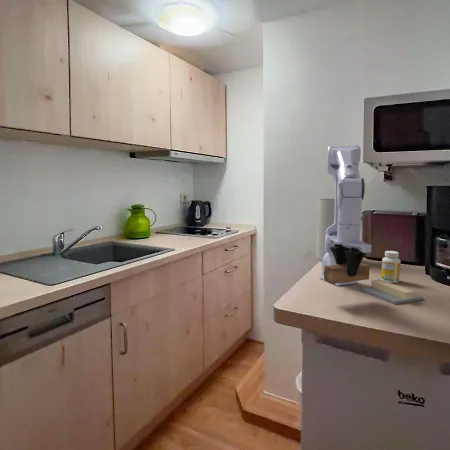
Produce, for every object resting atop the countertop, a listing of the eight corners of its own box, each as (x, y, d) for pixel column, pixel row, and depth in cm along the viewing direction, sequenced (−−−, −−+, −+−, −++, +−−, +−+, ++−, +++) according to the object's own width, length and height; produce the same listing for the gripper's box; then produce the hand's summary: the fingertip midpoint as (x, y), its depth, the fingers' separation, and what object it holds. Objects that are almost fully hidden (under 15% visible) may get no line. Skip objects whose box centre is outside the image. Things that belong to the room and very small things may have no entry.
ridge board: (361, 290, 99) (362, 281, 99) (387, 287, 103) (388, 278, 102) (394, 304, 88) (395, 294, 88) (422, 299, 91) (423, 289, 91)
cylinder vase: (309, 257, 143) (311, 199, 140) (332, 255, 148) (334, 198, 145) (330, 264, 132) (332, 200, 129) (354, 261, 137) (357, 199, 134)
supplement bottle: (386, 283, 106) (388, 253, 105) (377, 278, 112) (379, 250, 111) (402, 283, 107) (404, 253, 106) (392, 278, 112) (394, 250, 111)
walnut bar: (323, 280, 90) (324, 265, 90) (359, 276, 94) (360, 262, 94) (332, 284, 87) (332, 268, 86) (368, 279, 91) (369, 265, 90)
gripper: (319, 221, 94) (318, 268, 96) (356, 228, 80) (353, 283, 82) (340, 220, 96) (338, 266, 98) (379, 226, 83) (376, 280, 85)
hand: (346, 274), depth 90 cm, fingers closed on walnut bar, 3 cm apart
